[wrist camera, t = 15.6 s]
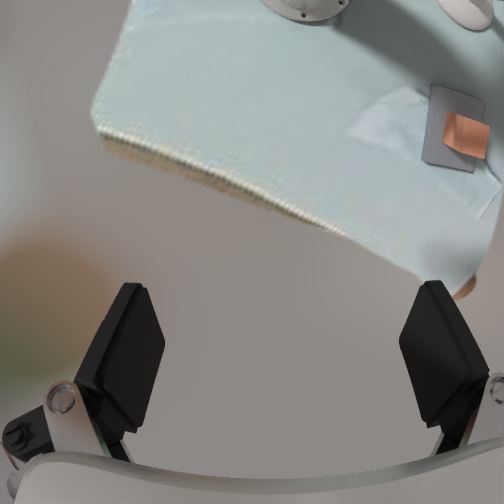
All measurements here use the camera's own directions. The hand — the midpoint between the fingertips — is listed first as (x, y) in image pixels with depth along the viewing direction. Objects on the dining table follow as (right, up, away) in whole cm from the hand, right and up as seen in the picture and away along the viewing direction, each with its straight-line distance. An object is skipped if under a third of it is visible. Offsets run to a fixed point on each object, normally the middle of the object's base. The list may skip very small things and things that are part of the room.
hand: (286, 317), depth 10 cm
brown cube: (+29, +20, +23) cm, 42 cm away
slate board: (+29, +21, +25) cm, 44 cm away
